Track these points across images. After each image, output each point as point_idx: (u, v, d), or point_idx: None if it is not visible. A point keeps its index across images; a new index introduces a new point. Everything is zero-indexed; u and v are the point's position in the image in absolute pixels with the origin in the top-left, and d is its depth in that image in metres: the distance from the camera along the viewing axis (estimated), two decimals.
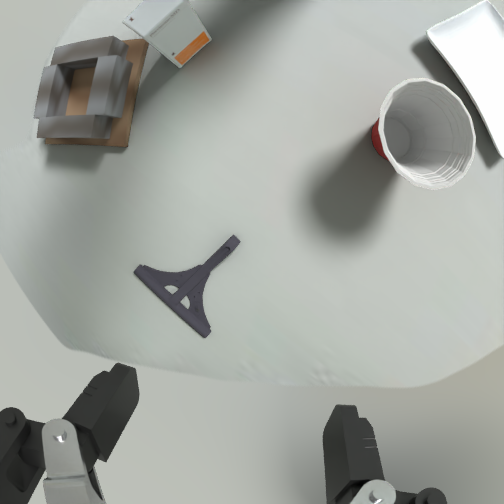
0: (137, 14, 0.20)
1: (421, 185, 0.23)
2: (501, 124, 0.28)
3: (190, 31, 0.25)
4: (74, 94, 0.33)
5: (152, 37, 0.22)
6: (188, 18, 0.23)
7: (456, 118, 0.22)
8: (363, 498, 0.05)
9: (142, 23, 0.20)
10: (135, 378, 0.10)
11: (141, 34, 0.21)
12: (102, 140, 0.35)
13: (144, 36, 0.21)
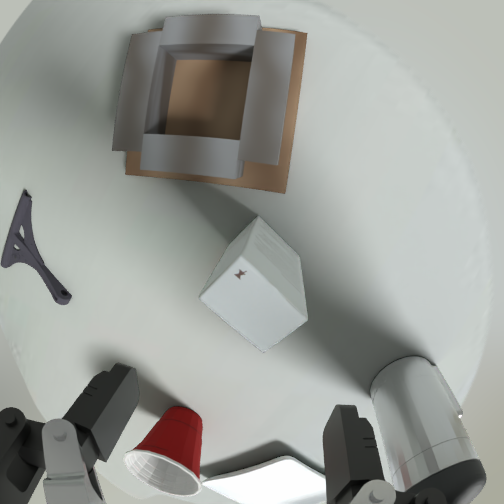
0: (248, 284, 0.17)
1: (124, 462, 0.28)
2: (232, 482, 0.43)
3: None
4: (212, 70, 0.23)
5: None
6: None
7: (187, 484, 0.30)
8: (363, 498, 0.05)
9: (224, 295, 0.18)
10: (135, 378, 0.10)
11: (203, 295, 0.18)
12: None
13: (200, 298, 0.18)
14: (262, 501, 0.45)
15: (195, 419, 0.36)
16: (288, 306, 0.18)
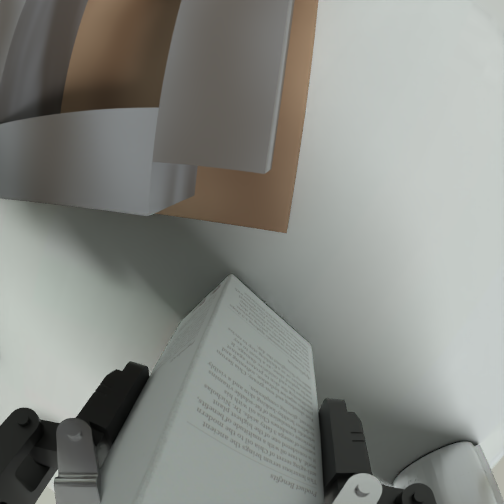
0: None
1: None
2: None
3: None
4: None
5: None
6: None
7: None
8: (349, 492, 0.06)
9: None
10: (147, 376, 0.10)
11: None
12: None
13: None
14: None
15: None
16: None
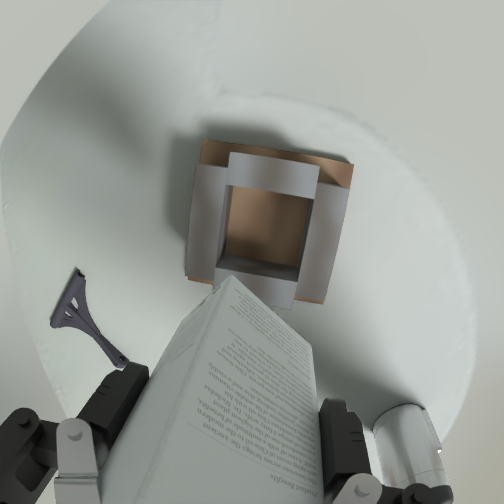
0: None
1: None
2: None
3: None
4: (268, 198, 0.30)
5: None
6: None
7: None
8: (349, 492, 0.06)
9: None
10: (147, 376, 0.10)
11: None
12: None
13: None
14: None
15: None
16: None
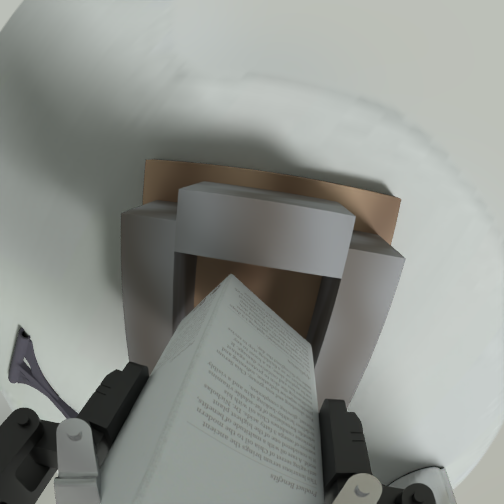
0: None
1: None
2: None
3: None
4: None
5: None
6: None
7: None
8: (349, 492, 0.06)
9: None
10: (147, 376, 0.10)
11: None
12: None
13: None
14: None
15: None
16: None
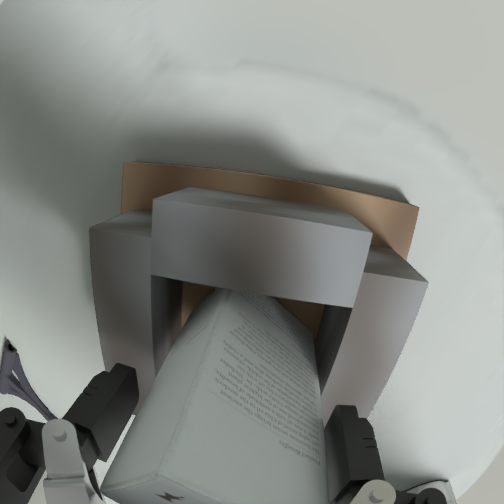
0: None
1: None
2: None
3: None
4: None
5: None
6: None
7: None
8: (363, 498, 0.05)
9: None
10: (135, 378, 0.10)
11: (105, 493, 0.05)
12: None
13: None
14: None
15: None
16: None
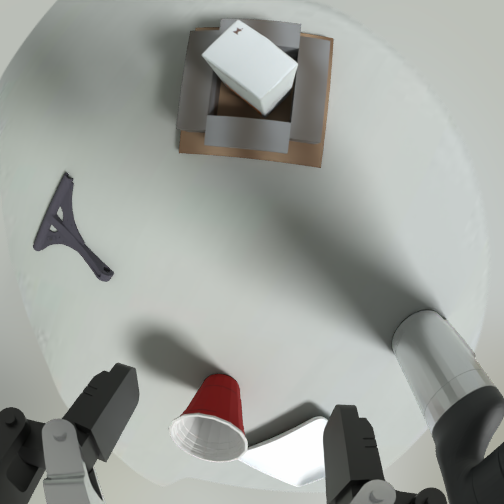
0: (244, 37, 0.17)
1: (170, 431, 0.33)
2: (262, 453, 0.49)
3: (247, 99, 0.24)
4: None
5: (209, 63, 0.19)
6: (251, 99, 0.21)
7: (230, 449, 0.35)
8: (363, 498, 0.05)
9: (224, 48, 0.17)
10: (135, 378, 0.10)
11: (206, 50, 0.17)
12: None
13: (202, 55, 0.18)
14: (290, 472, 0.50)
15: (234, 384, 0.41)
16: (279, 51, 0.17)
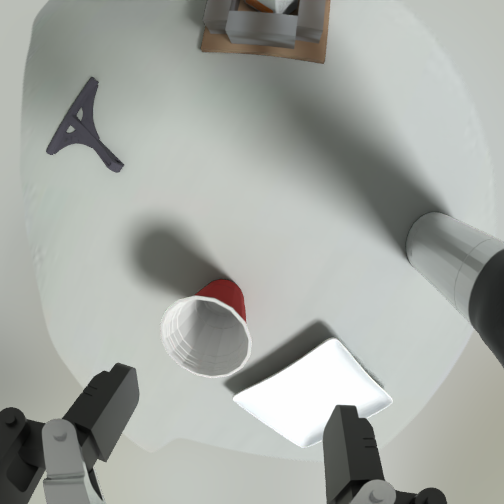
0: None
1: (161, 329, 0.32)
2: (265, 398, 0.47)
3: None
4: None
5: None
6: None
7: (230, 362, 0.34)
8: (363, 498, 0.05)
9: None
10: (135, 378, 0.10)
11: None
12: None
13: None
14: (295, 428, 0.49)
15: (238, 289, 0.40)
16: None
